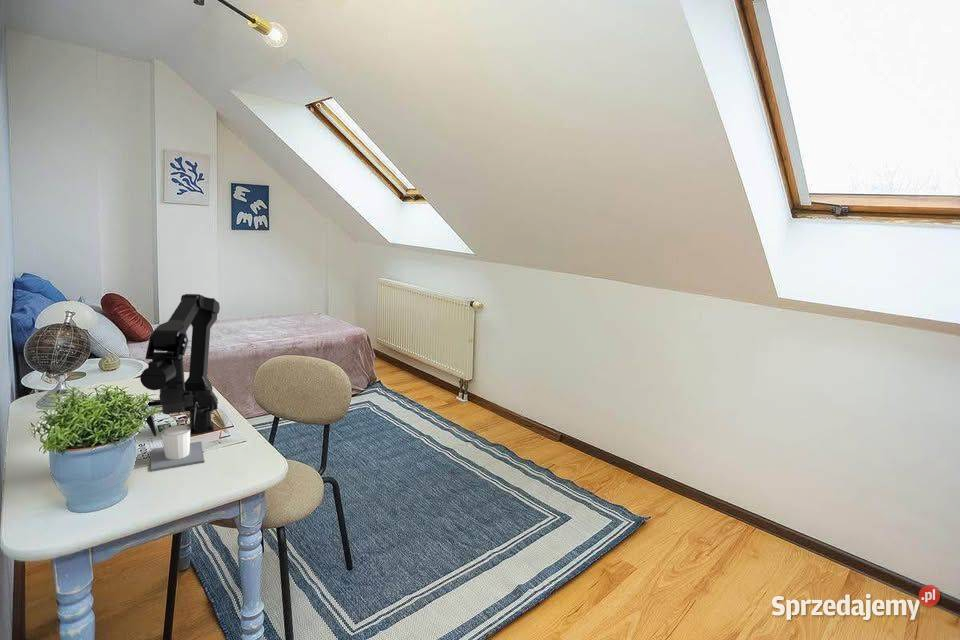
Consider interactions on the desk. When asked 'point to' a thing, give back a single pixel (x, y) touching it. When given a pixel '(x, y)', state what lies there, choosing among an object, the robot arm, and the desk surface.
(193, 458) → the coaster mat
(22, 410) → the desk surface
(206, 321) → the robot arm
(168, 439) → the white faceted cylinder
